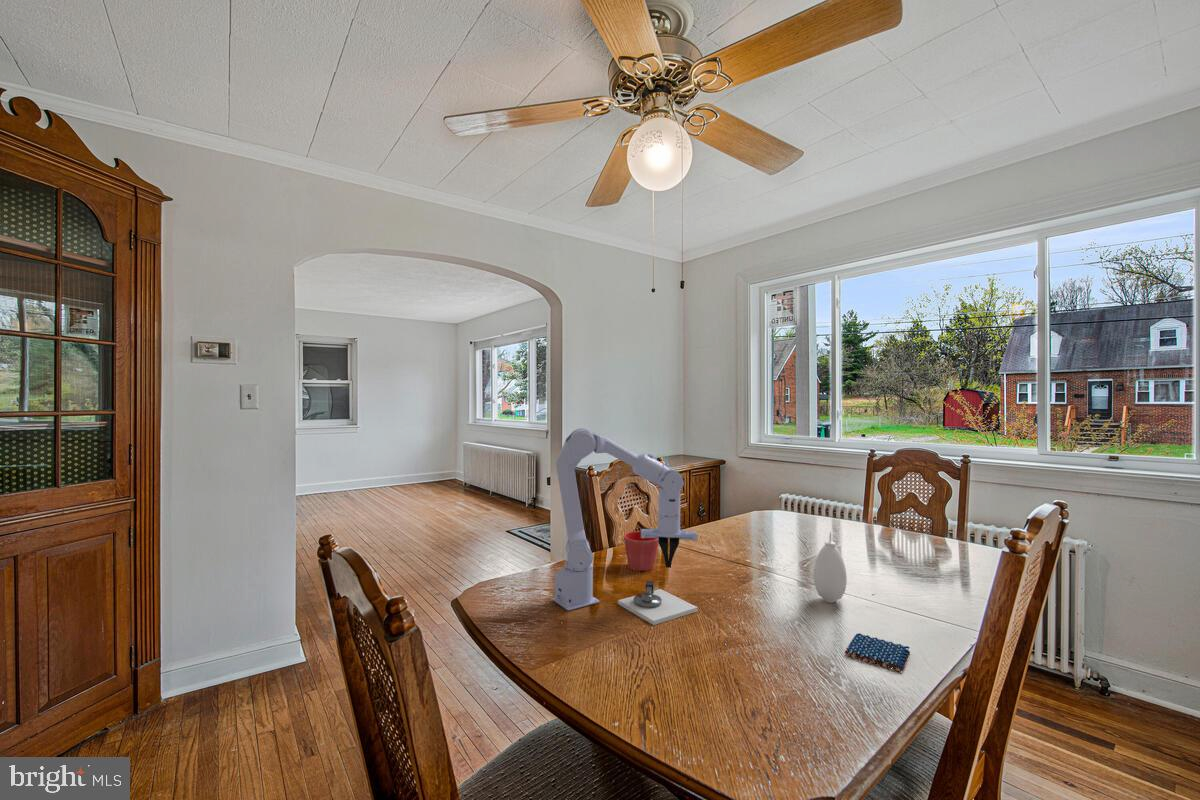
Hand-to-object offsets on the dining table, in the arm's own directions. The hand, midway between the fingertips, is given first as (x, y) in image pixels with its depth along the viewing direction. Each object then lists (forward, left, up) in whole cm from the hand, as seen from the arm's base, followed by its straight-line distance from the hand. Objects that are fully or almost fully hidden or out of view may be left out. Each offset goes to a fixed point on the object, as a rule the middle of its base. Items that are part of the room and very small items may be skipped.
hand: (668, 566), depth 132 cm
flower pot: (+9, +23, -9) cm, 26 cm away
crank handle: (-6, 0, -7) cm, 10 cm away
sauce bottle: (+34, -24, -9) cm, 43 cm away
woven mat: (+17, -45, -9) cm, 49 cm away
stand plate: (-6, -3, -8) cm, 11 cm away
